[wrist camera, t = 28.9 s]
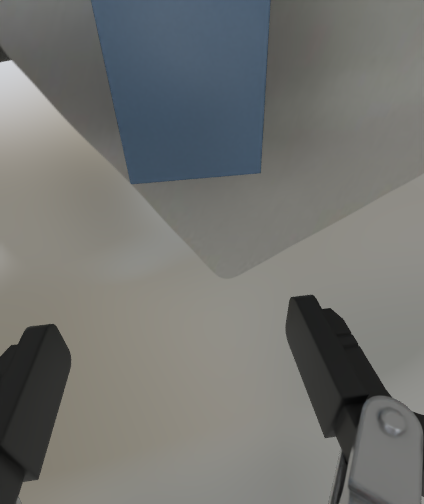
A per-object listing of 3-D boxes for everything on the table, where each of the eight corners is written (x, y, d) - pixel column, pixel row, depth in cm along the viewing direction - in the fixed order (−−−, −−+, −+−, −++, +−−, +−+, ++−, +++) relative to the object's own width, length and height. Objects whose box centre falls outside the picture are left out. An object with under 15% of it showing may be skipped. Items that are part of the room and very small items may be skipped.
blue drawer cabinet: (109, -8, 28) (86, -23, 20) (244, -14, 28) (272, -30, 21) (138, 151, 36) (130, 184, 29) (241, 143, 37) (260, 173, 29)
